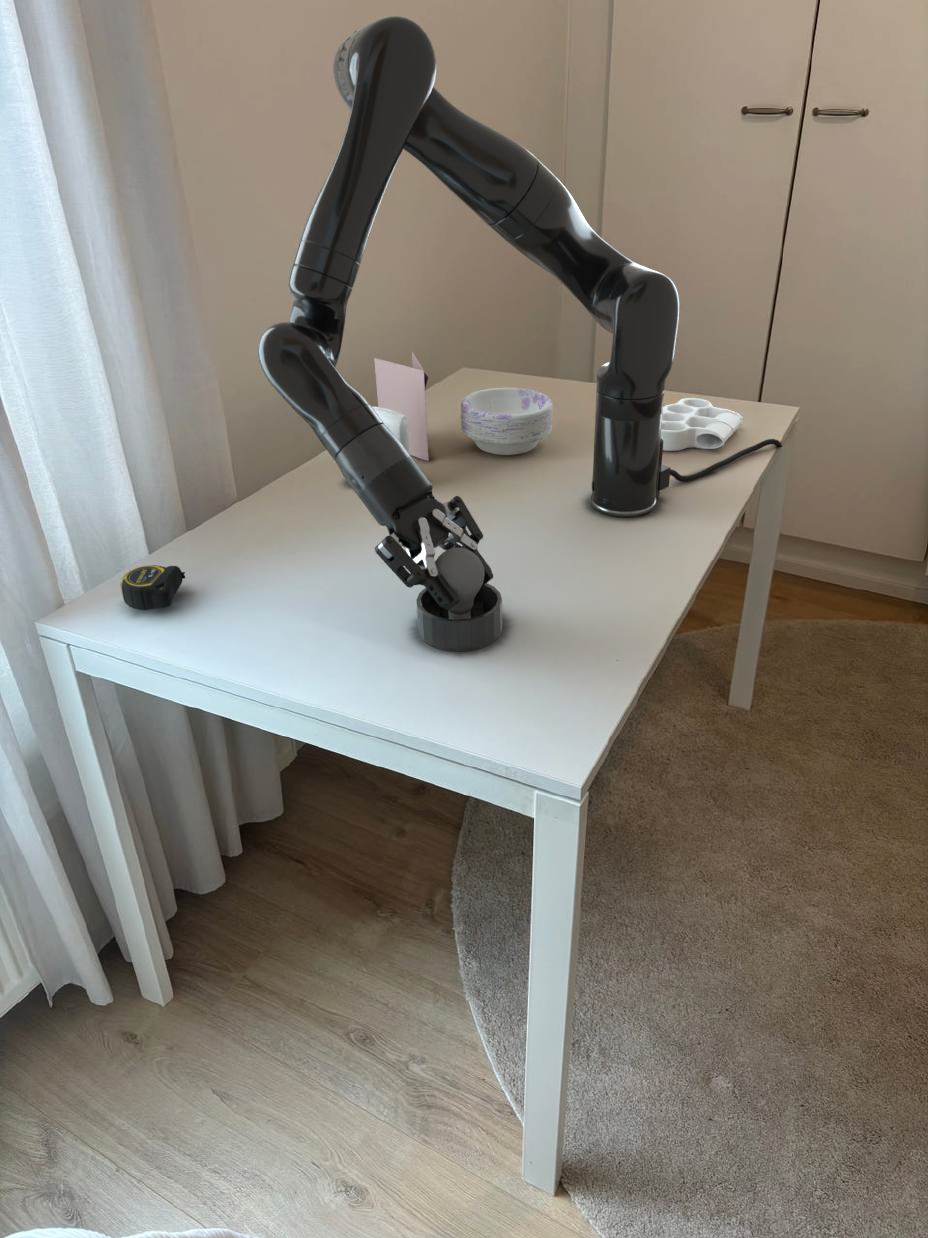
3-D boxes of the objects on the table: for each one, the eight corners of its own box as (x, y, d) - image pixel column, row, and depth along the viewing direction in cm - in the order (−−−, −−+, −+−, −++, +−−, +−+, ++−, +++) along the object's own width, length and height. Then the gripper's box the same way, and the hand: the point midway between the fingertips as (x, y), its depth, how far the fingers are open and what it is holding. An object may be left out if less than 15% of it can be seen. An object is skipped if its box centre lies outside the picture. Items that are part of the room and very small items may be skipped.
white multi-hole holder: (715, 459, 153) (629, 445, 159) (746, 423, 166) (666, 411, 172) (718, 439, 151) (631, 425, 157) (749, 405, 164) (667, 393, 171)
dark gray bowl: (462, 598, 117) (461, 570, 115) (519, 628, 111) (519, 598, 109) (401, 628, 112) (399, 599, 110) (457, 661, 106) (456, 631, 104)
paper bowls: (567, 438, 162) (568, 393, 158) (523, 469, 152) (524, 421, 147) (491, 424, 170) (490, 380, 165) (444, 452, 159) (442, 406, 155)
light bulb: (480, 642, 108) (478, 565, 103) (429, 637, 109) (424, 561, 104) (489, 615, 113) (488, 540, 108) (440, 611, 114) (437, 536, 109)
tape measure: (171, 615, 116) (165, 589, 114) (116, 615, 116) (110, 589, 114) (188, 588, 122) (182, 562, 120) (135, 588, 122) (129, 562, 120)
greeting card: (433, 460, 156) (429, 370, 148) (389, 465, 155) (382, 374, 147) (421, 436, 166) (417, 350, 158) (379, 440, 164) (372, 354, 156)
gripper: (356, 479, 100) (451, 607, 100) (439, 437, 110) (525, 554, 110) (325, 513, 106) (414, 635, 106) (406, 470, 115) (488, 581, 115)
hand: (470, 593), depth 108 cm, fingers closed on light bulb, 6 cm apart
